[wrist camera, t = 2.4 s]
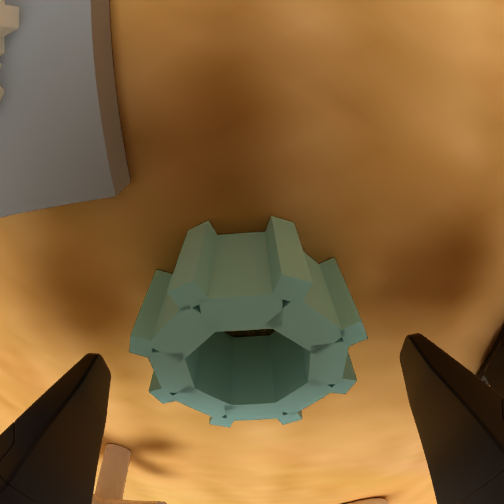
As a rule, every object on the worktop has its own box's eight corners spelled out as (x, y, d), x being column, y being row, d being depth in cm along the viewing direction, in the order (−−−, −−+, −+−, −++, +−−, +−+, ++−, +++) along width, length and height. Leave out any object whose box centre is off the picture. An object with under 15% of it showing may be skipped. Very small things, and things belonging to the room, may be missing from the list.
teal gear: (345, 211, 9) (382, 266, 6) (330, 355, 12) (346, 416, 9) (137, 226, 9) (100, 285, 7) (178, 364, 12) (167, 426, 10)
